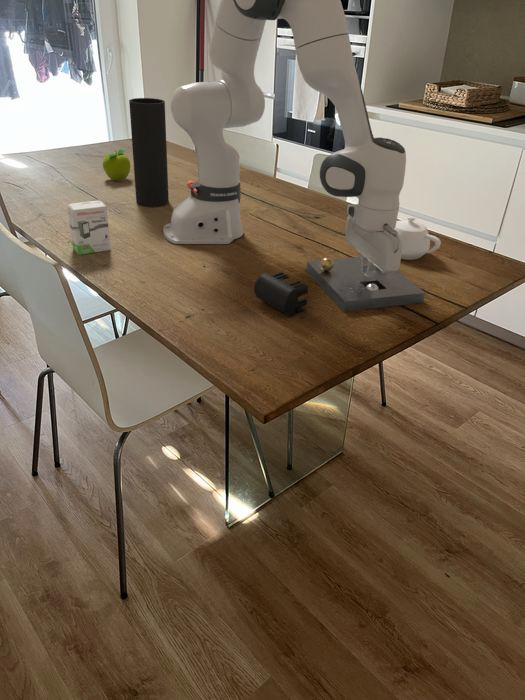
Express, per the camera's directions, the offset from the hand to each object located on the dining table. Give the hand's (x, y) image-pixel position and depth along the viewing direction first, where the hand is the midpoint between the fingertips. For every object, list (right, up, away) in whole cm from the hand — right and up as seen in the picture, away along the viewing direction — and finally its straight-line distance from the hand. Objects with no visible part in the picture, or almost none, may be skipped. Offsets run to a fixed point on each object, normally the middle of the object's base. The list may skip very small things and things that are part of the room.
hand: (367, 274), depth 131 cm
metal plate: (-1, -2, +3) cm, 4 cm away
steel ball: (+1, -4, -2) cm, 5 cm away
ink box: (-68, +8, +14) cm, 70 cm away
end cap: (-21, -9, -8) cm, 24 cm away
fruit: (-76, +43, +68) cm, 110 cm away
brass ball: (-9, +3, +3) cm, 10 cm away
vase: (-60, +30, +49) cm, 82 cm away
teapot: (+14, +9, +23) cm, 28 cm away
